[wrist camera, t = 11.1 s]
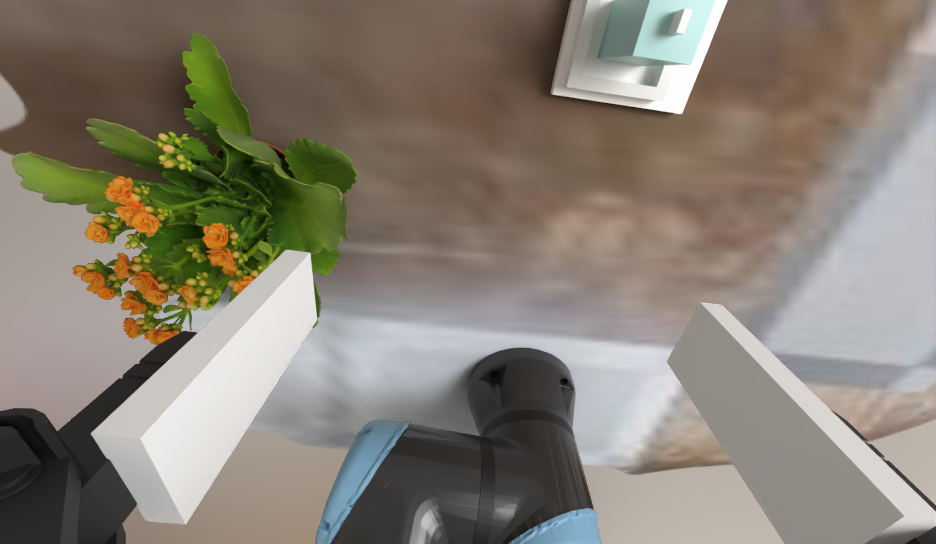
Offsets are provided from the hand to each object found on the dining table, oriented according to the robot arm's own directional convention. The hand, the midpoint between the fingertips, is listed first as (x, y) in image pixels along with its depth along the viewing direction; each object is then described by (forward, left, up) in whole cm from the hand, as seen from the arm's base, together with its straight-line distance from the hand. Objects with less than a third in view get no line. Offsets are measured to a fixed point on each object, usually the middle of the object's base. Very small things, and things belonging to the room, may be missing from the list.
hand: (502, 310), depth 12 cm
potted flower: (-6, +22, -27) cm, 35 cm away
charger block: (+11, -10, -26) cm, 30 cm away
